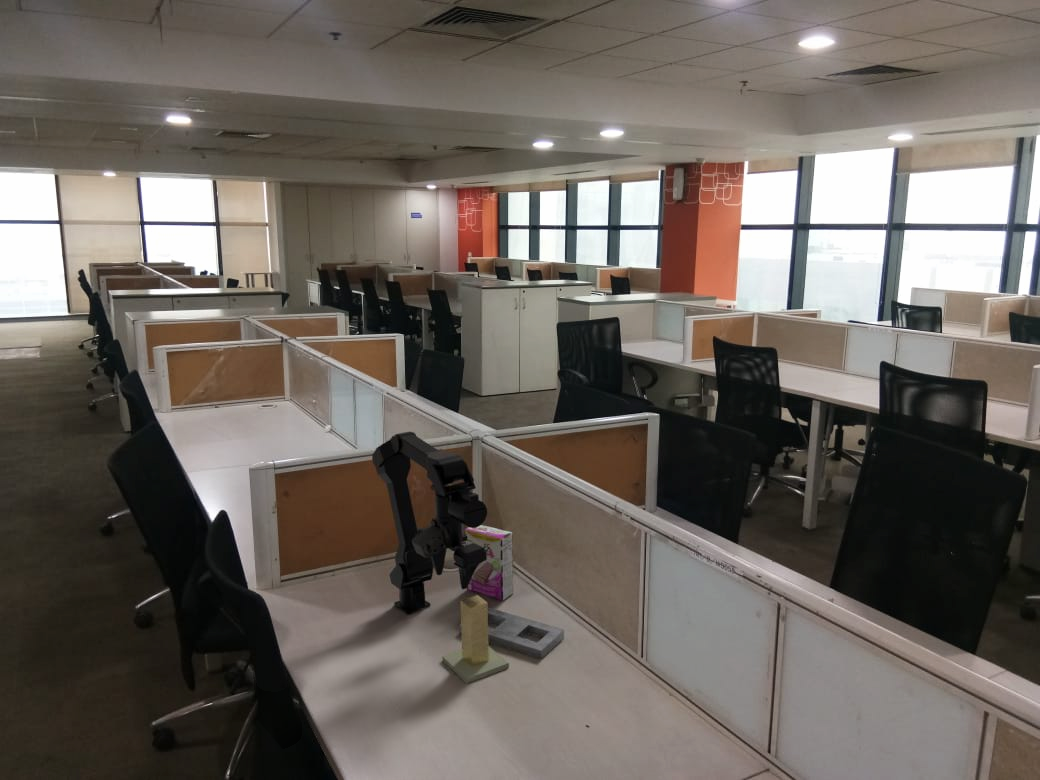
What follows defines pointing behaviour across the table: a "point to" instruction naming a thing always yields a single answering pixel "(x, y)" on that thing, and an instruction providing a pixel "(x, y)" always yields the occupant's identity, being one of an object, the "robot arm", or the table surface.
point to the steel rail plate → (522, 634)
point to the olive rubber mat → (477, 671)
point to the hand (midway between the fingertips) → (451, 581)
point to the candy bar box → (492, 562)
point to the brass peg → (474, 630)
